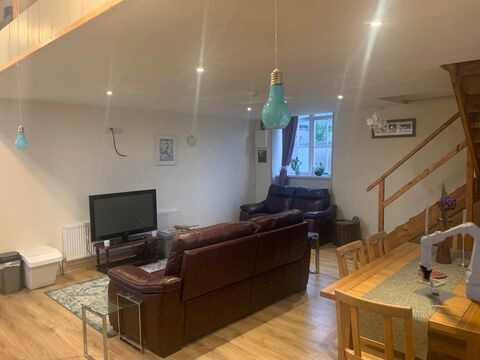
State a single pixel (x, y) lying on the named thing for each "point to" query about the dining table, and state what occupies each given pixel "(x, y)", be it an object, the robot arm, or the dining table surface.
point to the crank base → (439, 297)
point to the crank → (433, 289)
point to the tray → (433, 280)
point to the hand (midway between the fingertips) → (425, 278)
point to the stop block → (424, 278)
